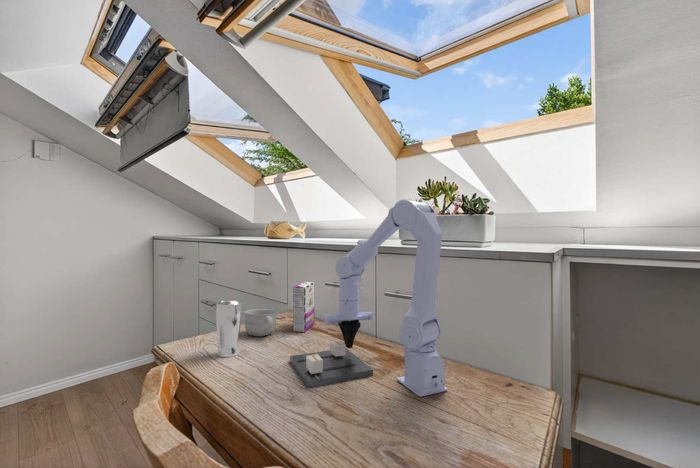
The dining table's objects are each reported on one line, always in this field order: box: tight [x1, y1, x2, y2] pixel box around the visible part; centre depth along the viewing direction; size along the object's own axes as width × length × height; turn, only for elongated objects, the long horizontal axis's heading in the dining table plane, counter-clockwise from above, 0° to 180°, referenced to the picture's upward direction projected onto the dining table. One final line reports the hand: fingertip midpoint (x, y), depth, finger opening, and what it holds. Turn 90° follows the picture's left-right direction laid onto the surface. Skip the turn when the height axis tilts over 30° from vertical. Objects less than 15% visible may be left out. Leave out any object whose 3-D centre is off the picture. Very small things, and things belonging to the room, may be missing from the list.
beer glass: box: [215, 299, 242, 359], centre depth 98 cm, size 7×7×15 cm
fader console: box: [289, 348, 374, 389], centre depth 89 cm, size 17×17×2 cm
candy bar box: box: [292, 281, 315, 333], centre depth 125 cm, size 11×5×16 cm, turn 168°
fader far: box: [329, 339, 347, 357], centre depth 94 cm, size 4×3×3 cm
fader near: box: [306, 354, 323, 374], centre depth 83 cm, size 4×3×3 cm
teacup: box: [244, 308, 278, 337], centre depth 116 cm, size 14×11×8 cm
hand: (348, 346), depth 96 cm, fingers closed
